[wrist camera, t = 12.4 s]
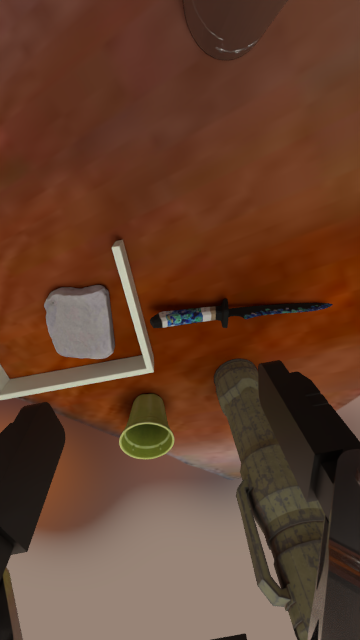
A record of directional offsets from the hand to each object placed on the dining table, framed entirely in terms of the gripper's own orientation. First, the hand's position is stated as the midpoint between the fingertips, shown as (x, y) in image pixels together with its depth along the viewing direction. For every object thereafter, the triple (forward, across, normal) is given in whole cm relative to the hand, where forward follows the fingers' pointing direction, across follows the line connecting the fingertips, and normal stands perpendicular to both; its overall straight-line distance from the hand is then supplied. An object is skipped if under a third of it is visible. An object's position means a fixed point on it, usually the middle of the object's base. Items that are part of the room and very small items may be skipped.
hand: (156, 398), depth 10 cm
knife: (+30, -12, +13) cm, 35 cm away
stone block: (+31, +14, +10) cm, 35 cm away
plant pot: (+30, +8, +31) cm, 44 cm away
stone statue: (+30, -10, +28) cm, 42 cm away
